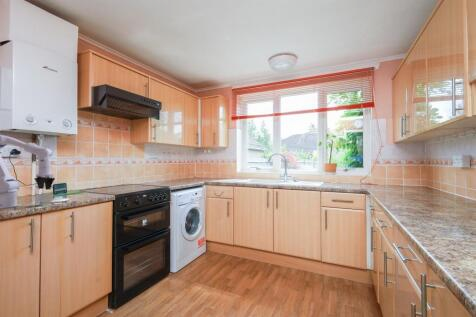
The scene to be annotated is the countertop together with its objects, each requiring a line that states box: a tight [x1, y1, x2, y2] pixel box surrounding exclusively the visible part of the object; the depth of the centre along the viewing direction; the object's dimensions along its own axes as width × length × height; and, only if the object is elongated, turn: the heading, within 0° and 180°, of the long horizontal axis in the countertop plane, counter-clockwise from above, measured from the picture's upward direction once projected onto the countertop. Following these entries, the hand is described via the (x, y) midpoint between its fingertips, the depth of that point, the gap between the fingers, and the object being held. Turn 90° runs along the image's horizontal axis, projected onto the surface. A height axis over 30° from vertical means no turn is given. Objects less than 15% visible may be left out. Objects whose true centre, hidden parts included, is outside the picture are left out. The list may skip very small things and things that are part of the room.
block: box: [38, 201, 50, 207], centre depth 139 cm, size 4×4×5 cm
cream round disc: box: [49, 197, 70, 204], centre depth 151 cm, size 13×13×1 cm
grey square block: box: [35, 193, 53, 203], centre depth 140 cm, size 6×6×4 cm
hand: (44, 189), depth 140 cm, fingers open, 7 cm apart
